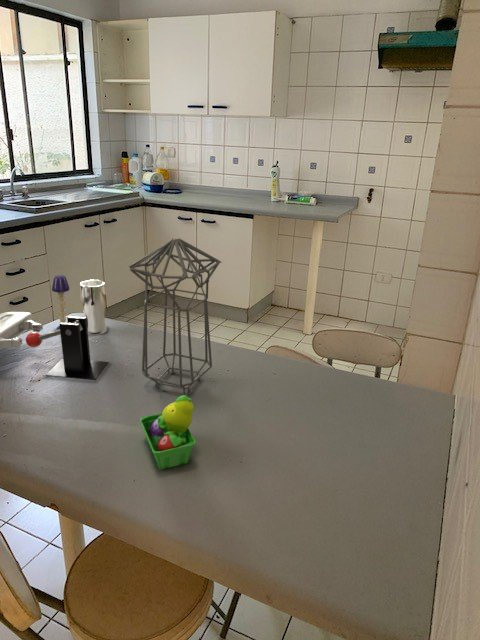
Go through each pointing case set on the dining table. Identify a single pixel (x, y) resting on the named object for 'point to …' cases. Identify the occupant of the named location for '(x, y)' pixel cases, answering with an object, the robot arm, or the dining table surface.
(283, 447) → the dining table surface
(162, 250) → the geometric lantern
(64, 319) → the toy lamp
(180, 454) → the fruit basket
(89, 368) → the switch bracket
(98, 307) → the silver metal vase
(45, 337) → the switch lever
